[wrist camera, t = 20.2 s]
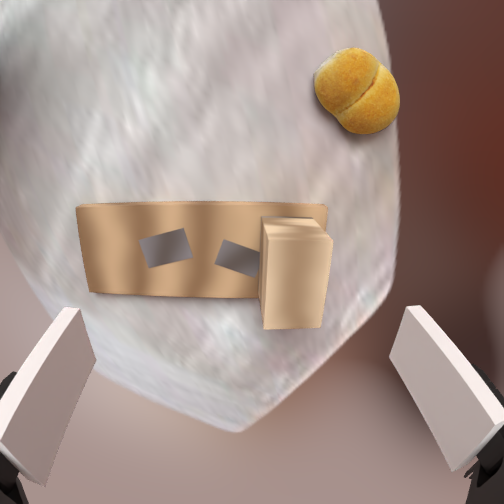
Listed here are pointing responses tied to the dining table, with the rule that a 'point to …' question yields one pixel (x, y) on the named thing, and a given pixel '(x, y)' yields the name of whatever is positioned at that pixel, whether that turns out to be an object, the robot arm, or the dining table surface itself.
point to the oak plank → (179, 246)
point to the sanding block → (293, 272)
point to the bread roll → (357, 91)
